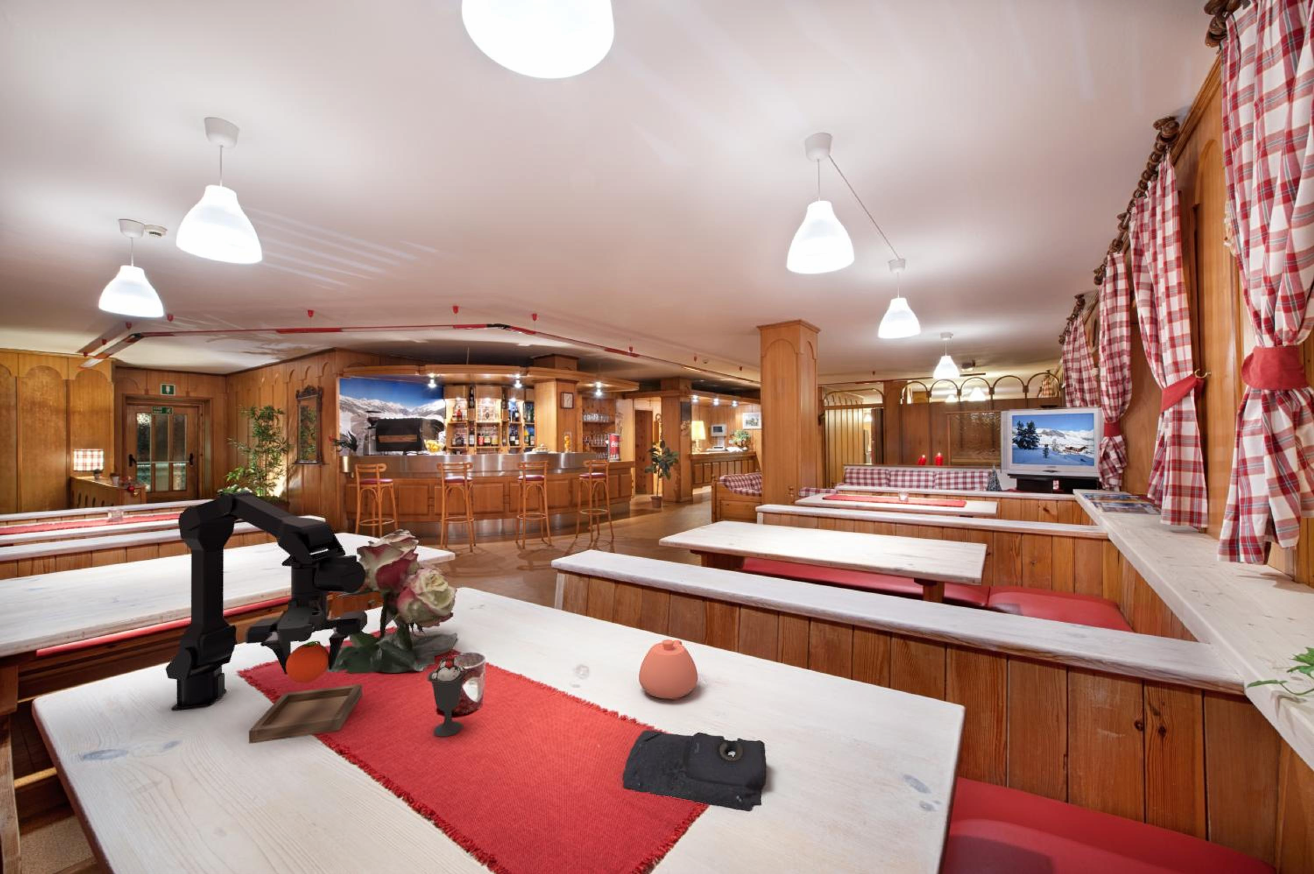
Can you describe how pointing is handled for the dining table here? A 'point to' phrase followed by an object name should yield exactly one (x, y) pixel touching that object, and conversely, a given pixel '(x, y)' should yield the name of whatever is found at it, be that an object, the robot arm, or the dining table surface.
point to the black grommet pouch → (698, 768)
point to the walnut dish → (306, 713)
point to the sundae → (447, 693)
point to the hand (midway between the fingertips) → (309, 671)
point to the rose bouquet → (399, 609)
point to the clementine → (307, 662)
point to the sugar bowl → (668, 670)
